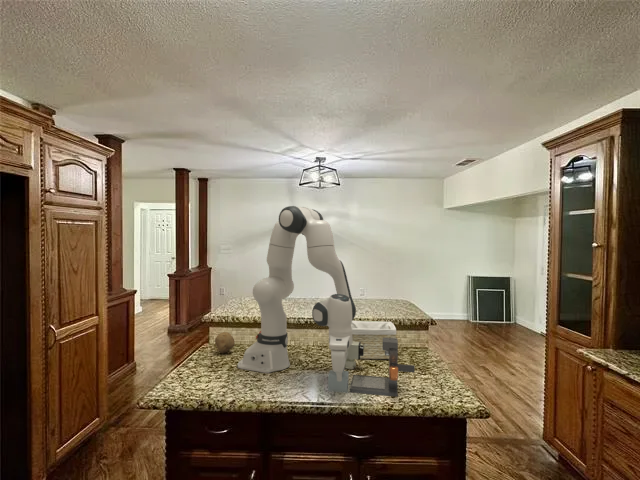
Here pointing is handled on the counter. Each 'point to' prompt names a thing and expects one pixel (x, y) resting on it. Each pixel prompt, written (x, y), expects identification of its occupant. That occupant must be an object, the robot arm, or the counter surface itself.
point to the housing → (338, 382)
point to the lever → (393, 373)
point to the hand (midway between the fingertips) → (340, 375)
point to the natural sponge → (224, 342)
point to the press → (381, 383)
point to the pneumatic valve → (354, 354)
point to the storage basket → (372, 337)
